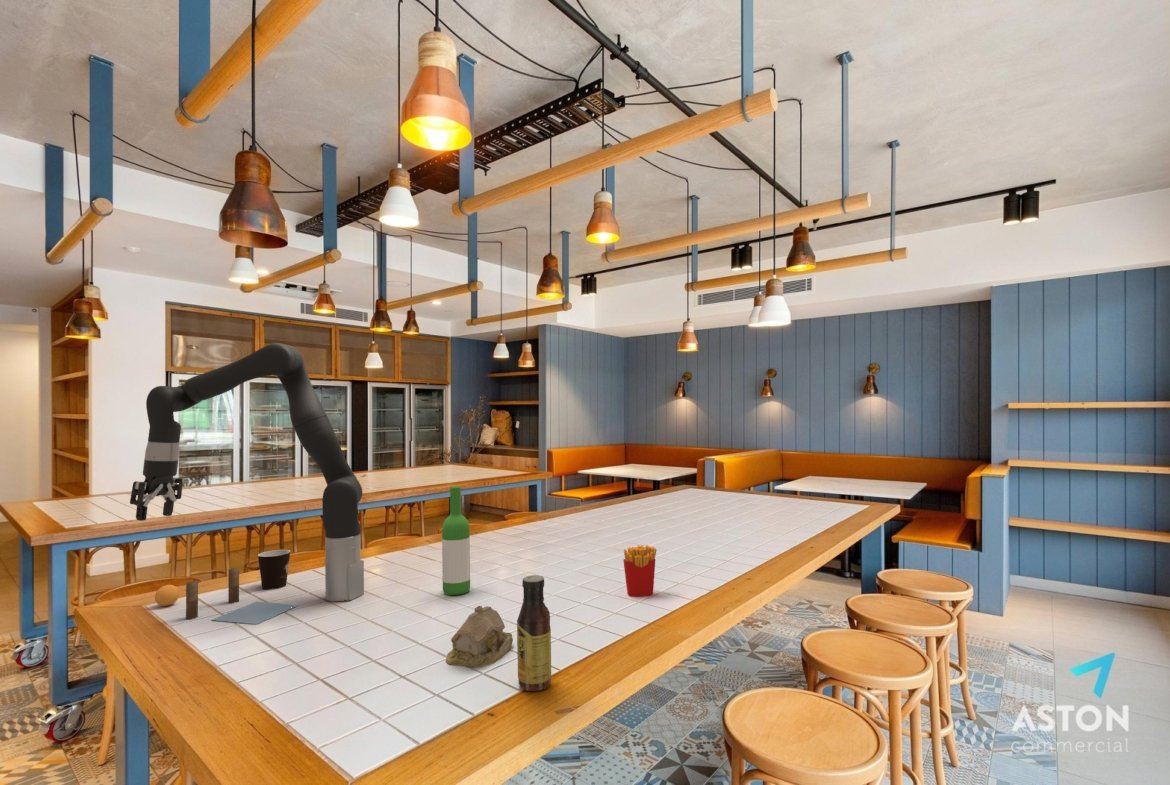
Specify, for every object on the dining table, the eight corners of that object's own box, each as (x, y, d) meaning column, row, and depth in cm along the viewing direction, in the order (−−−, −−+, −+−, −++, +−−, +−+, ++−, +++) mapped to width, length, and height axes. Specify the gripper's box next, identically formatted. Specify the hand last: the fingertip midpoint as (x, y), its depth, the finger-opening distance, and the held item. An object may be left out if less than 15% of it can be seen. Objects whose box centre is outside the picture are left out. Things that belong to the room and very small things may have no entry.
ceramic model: (477, 673, 110) (476, 621, 110) (436, 661, 115) (435, 612, 116) (521, 647, 122) (520, 600, 122) (482, 637, 128) (481, 593, 128)
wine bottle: (446, 598, 155) (445, 489, 157) (439, 590, 162) (438, 486, 164) (473, 593, 159) (472, 487, 160) (466, 586, 166) (464, 484, 167)
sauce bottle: (518, 678, 107) (516, 573, 108) (551, 676, 107) (549, 571, 108) (517, 695, 100) (515, 583, 101) (552, 693, 101) (550, 581, 102)
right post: (241, 600, 157) (241, 568, 157) (233, 603, 155) (233, 570, 155) (233, 599, 158) (234, 567, 158) (226, 602, 155) (226, 570, 156)
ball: (184, 602, 156) (184, 582, 156) (165, 609, 151) (165, 588, 151) (169, 601, 158) (169, 581, 158) (149, 608, 152) (149, 587, 152)
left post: (200, 616, 145) (200, 581, 145) (191, 619, 143) (191, 583, 143) (192, 615, 146) (192, 580, 146) (183, 619, 143) (183, 583, 144)
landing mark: (298, 605, 152) (298, 604, 152) (256, 624, 138) (256, 623, 138) (256, 602, 155) (256, 601, 155) (211, 620, 142) (211, 619, 142)
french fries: (626, 597, 152) (625, 549, 153) (623, 593, 157) (621, 546, 157) (659, 595, 154) (658, 547, 155) (654, 590, 158) (653, 543, 159)
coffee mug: (276, 591, 165) (276, 557, 165) (250, 590, 167) (251, 556, 167) (303, 579, 176) (303, 547, 177) (279, 578, 178) (279, 547, 178)
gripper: (152, 461, 147) (145, 523, 146) (194, 458, 161) (187, 515, 160) (126, 458, 148) (118, 520, 147) (170, 456, 162) (163, 512, 161)
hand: (154, 517), depth 154 cm, fingers open, 8 cm apart
